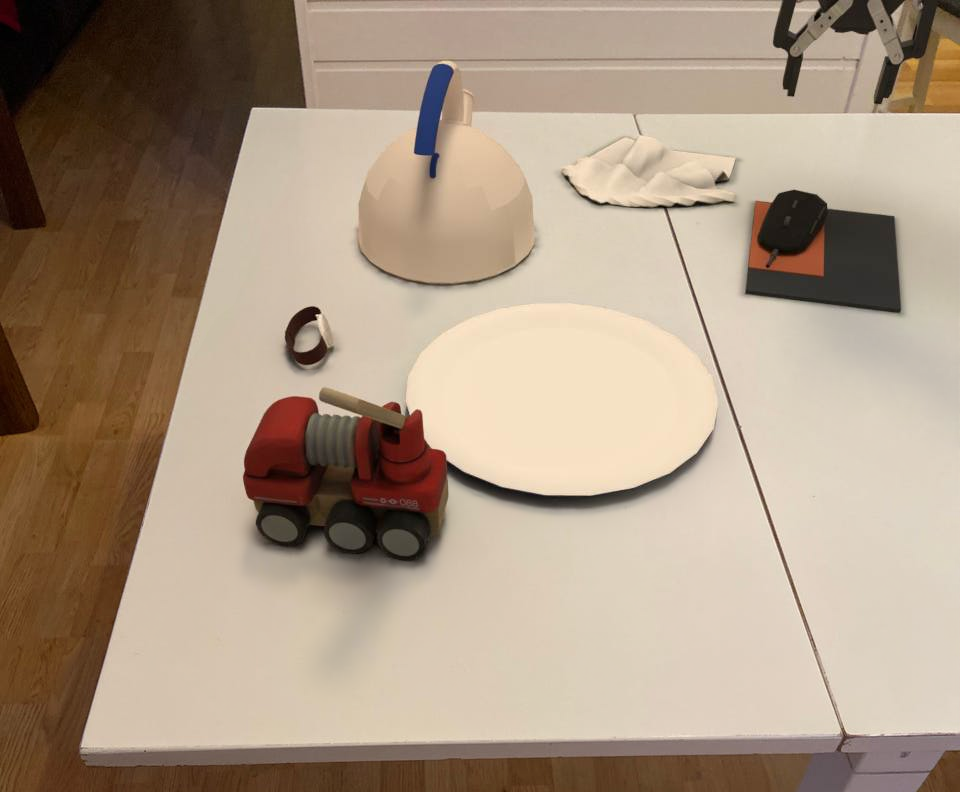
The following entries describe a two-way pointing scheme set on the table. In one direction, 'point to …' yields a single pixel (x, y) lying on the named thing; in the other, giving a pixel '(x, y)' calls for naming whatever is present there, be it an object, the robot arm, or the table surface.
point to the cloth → (650, 175)
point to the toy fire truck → (346, 475)
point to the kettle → (445, 196)
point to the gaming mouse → (792, 222)
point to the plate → (562, 399)
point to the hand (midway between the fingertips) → (833, 97)
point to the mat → (832, 263)
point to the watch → (324, 328)
